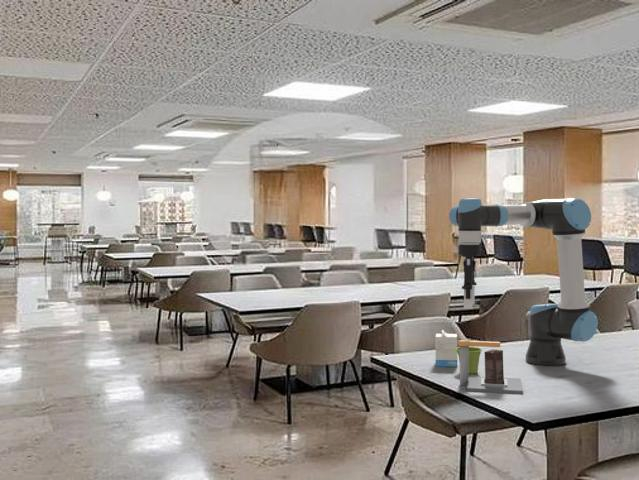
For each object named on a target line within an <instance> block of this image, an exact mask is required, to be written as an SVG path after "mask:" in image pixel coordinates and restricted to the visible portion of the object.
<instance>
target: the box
mask: <svg viewBox="0 0 639 480" xmlns="http://www.w3.org/2000/svg"><path fill="white" fill-rule="evenodd" d="M504 375H505V374H504V350H502V349H489V350H487V351H484V377H485V383H487V384H504V378H505V377H504Z"/></svg>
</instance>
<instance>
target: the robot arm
mask: <svg viewBox="0 0 639 480" xmlns="http://www.w3.org/2000/svg"><path fill="white" fill-rule="evenodd" d="M448 220H449V223H450V224H451V225H452V226H455V227H458V233H457V234H456V237H457V238H458V246H457V247H458V249H457V251H458V252H457V253H458V254H457V255H458V256H460V257H461V256H463V257H465V258H464V260H463V261H462V264H463V273H464V276H463V278H464V279H463V285H461V290H463V309H464V310H473V305H475V303H476V302H475V294H476V293H475V291H476V290H475V288H476V287H475V286H477V282H475V281H476V280H475V272H476V266H477V265H476V263H477V262H476V260H475V256H477V257H479V256H481V254H482V245H481V243H482V227H493V228H494V227H496V228H497V227H503V226H511V225H512V226H513V225H514V226H516V225H518V226H519V225H520V226H522V227H523V228H537V229H545V230H546V229H547V230H551V231H552V236H553V237H554V238H555V239H556V242H557V243H556V244H557V259H558V274H559V286H560V287H559V289H560V291H559V292H560V302H559V303H546V304H543V303H541V304H534V305H532V306H531V307H530V309H529V310H530V312H529V313H530V314H529V336H530V337H529V339H530V340H529V345H528V347H527V351H526V353H525V362H526V363H529V364H532V365H533V364H534V365H539V366H561V365H565V364H566V359H567V358H566V354H565V352H564V348H563V345H562V340H569V341H573V342H582V343H584V342H588V341H590V340H592V338H593V337H594V335H595V334H596V332H597V331H598V326H599V325H598V324H599V320H598V316H597V315H596V314H595V313H594V312H593V311H591V306H590V303H589V302H587V301H586V292H585V291H586V290H585V278H584V263H583V262H584V261H583V260H584V259H583V245H582V237H583V236H584V235H585V234H586V229H588V228H589V227H590V225H591V224H590V223H591V222H592V213H591V209H590V206H589V205H588V204H587V203H586V201H585V200H583V199H581V198H576V197H566V198H546V199H540V200H535V201H524V202H522V203H520V204H497V203H496V204H482V199H481V198H477V197H476V198H475V197H474V198H472V197H471V198H470V197H469V198H468V197H467V198H463V197H462V198H460V199H459V201H458V205H456V206H453V207H452V208H451V209H450V210H449V214H448ZM459 243H460V244H459Z"/></svg>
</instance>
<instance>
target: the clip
mask: <svg viewBox="0 0 639 480" xmlns="http://www.w3.org/2000/svg"><path fill="white" fill-rule="evenodd" d="M460 346H463V347H467V346H469V347H477V348H479V347H480V348H481V347H482V348H483V347H484V348H487V347H488V348H501V342H500V341H485V340H467V339H461V340H457V347H460Z"/></svg>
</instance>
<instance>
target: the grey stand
mask: <svg viewBox="0 0 639 480" xmlns="http://www.w3.org/2000/svg"><path fill="white" fill-rule="evenodd" d="M459 347H460V362H459V385H460V386H466V392H479V393H480V392H481V393H482V392H483V393H497V394H498V393H500V394H501V393H502V394H517V395H518V394H519V395H523V394H524V389H523V383H522V379H521V378H519V377H504V384H487V383H485V376H480V375H477V376H476V375H470V373H469V347H470V346H467V347H463V346H459Z"/></svg>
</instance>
